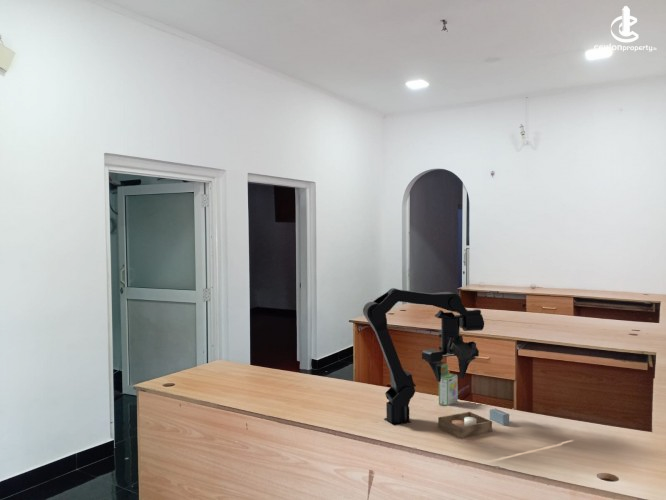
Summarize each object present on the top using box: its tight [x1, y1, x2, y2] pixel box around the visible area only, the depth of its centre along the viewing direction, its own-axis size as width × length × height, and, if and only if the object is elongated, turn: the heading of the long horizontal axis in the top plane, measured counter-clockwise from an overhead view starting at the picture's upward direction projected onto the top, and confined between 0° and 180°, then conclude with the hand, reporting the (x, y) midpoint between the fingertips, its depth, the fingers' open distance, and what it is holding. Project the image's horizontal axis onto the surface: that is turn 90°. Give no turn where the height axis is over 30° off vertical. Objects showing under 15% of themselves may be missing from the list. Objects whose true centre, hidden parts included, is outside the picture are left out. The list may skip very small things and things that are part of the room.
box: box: [437, 411, 493, 439], centre depth 155 cm, size 12×10×4 cm
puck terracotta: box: [452, 420, 464, 427], centre depth 154 cm, size 4×4×3 cm
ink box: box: [438, 363, 459, 407], centre depth 182 cm, size 7×4×13 cm, turn 140°
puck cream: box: [464, 417, 476, 426], centre depth 157 cm, size 4×4×3 cm
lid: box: [489, 408, 510, 426], centre depth 162 cm, size 13×11×4 cm
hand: (450, 380), depth 166 cm, fingers open, 9 cm apart
